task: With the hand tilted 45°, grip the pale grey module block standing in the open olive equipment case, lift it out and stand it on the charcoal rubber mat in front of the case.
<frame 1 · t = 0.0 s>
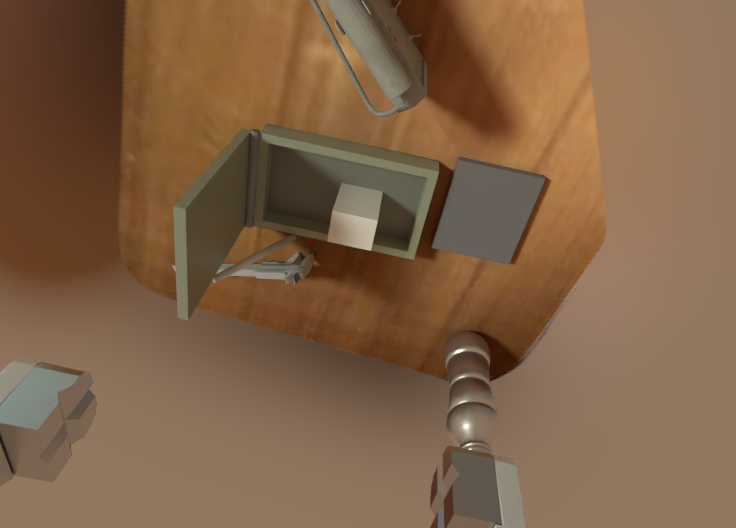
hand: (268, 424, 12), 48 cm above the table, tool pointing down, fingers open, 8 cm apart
equipment case: (345, 188, 61), on the table
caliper: (243, 259, 69), on the table
rubber mat: (484, 211, 61), on the table
plastic bottle: (465, 341, 73), on the table
module block: (359, 201, 61), point 1 cm above the table, touching equipment case
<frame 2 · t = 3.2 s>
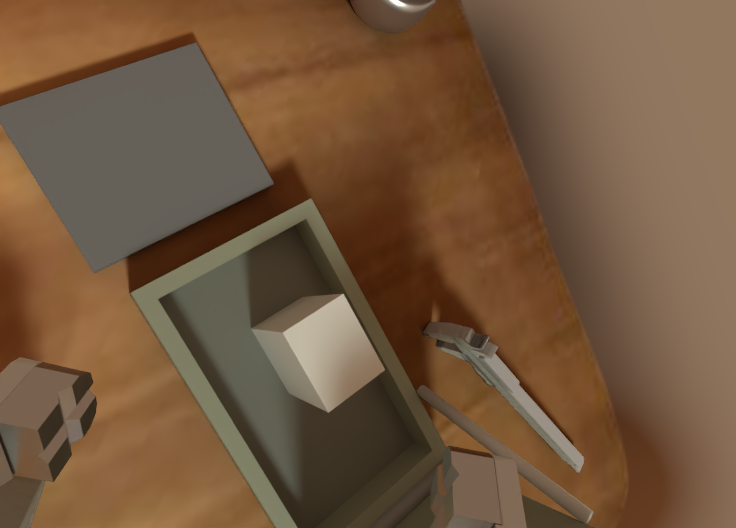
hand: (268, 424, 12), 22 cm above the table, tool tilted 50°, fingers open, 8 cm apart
equipment case: (295, 377, 34), on the table
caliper: (503, 400, 42), on the table
rubber mat: (147, 155, 31), on the table
plastic bottle: (375, 4, 40), on the table
module block: (295, 344, 34), point 1 cm above the table, touching equipment case
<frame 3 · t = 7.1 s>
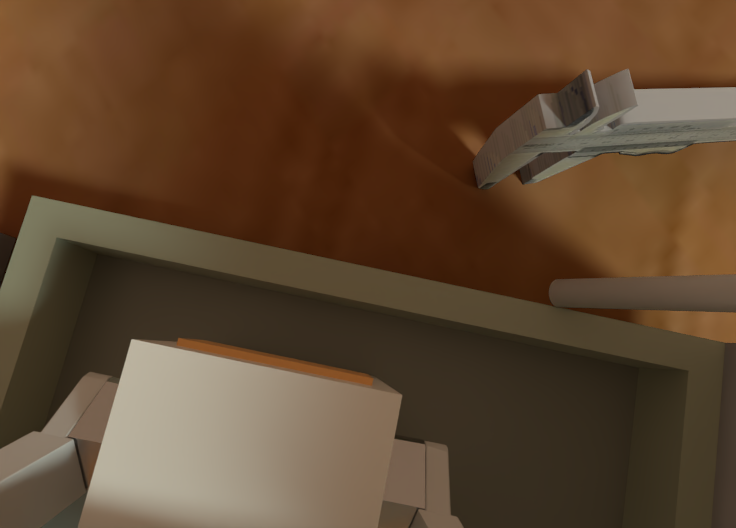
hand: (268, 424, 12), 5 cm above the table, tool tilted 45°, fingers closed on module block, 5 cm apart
equipment case: (339, 466, 16), on the table
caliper: (726, 146, 19), on the table
module block: (282, 424, 16), point 1 cm above the table, touching equipment case, gripper
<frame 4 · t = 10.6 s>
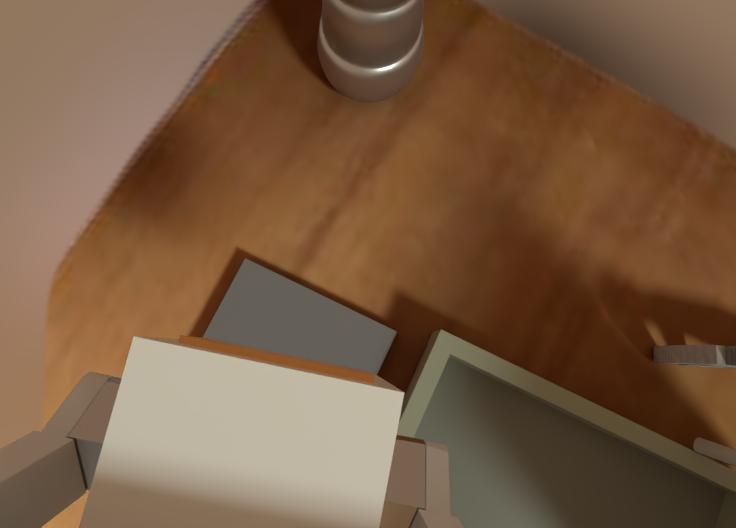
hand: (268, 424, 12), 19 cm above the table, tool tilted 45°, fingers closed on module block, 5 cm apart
equipment case: (546, 502, 29), on the table
rubber mat: (275, 387, 30), on the table
plastic bottle: (368, 70, 34), on the table
module block: (284, 422, 16), point 14 cm above the table, touching gripper
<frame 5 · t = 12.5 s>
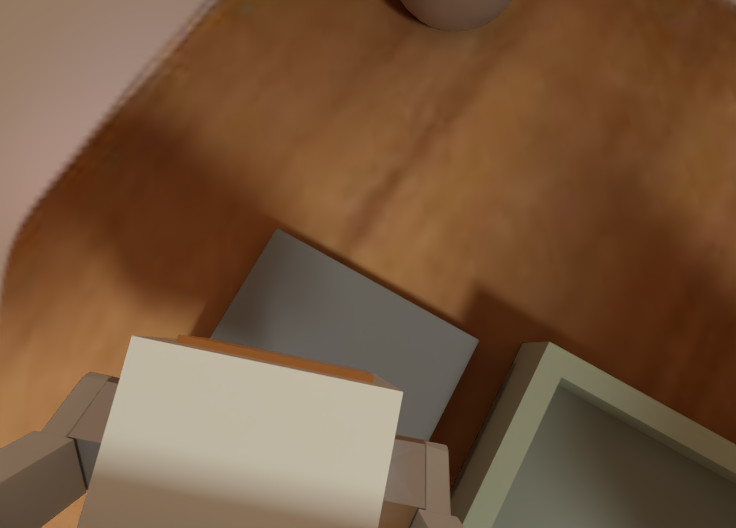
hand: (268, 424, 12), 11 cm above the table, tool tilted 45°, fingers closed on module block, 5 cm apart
rubber mat: (308, 407, 22), on the table
module block: (283, 422, 16), point 6 cm above the table, touching gripper
when the fingers open (7 cm above the table, at t = 14.1 s): module block drops 1 cm, resting on rubber mat.
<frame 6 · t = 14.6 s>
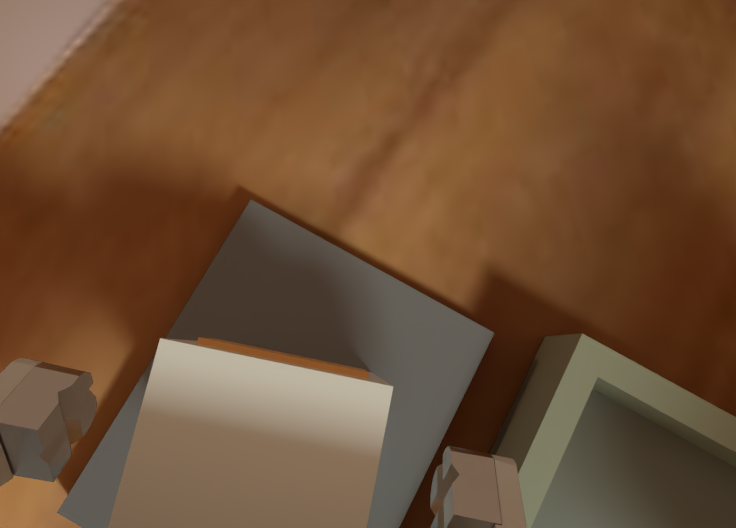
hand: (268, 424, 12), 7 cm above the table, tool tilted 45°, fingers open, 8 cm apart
rubber mat: (290, 414, 18), on the table
module block: (287, 416, 17), point 1 cm above the table, touching rubber mat
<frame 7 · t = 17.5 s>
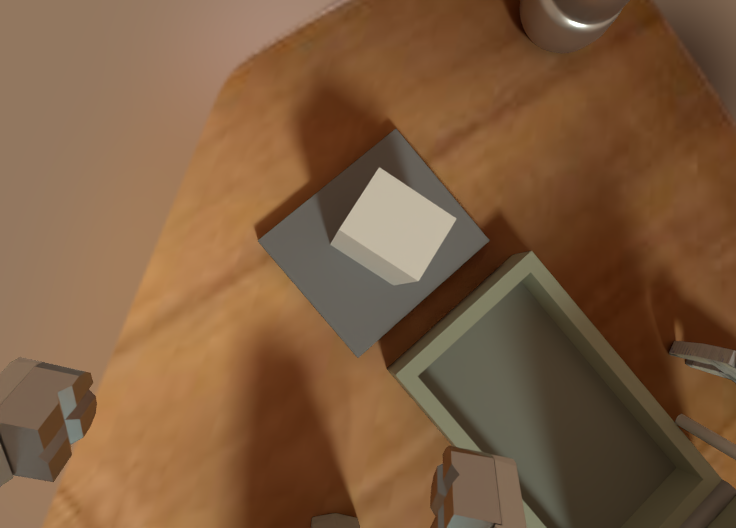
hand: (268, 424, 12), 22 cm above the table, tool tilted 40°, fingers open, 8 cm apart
equipment case: (542, 418, 36), on the table
rubber mat: (375, 242, 35), on the table
plastic bottle: (549, 23, 38), on the table
module block: (377, 239, 34), point 1 cm above the table, touching rubber mat
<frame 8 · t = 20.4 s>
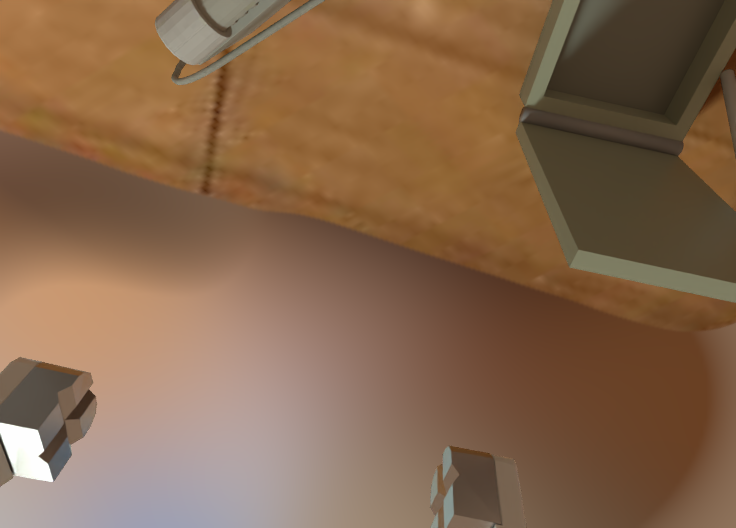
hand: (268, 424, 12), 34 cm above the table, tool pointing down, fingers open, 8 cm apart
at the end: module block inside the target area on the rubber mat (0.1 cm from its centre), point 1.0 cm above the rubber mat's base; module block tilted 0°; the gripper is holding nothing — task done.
